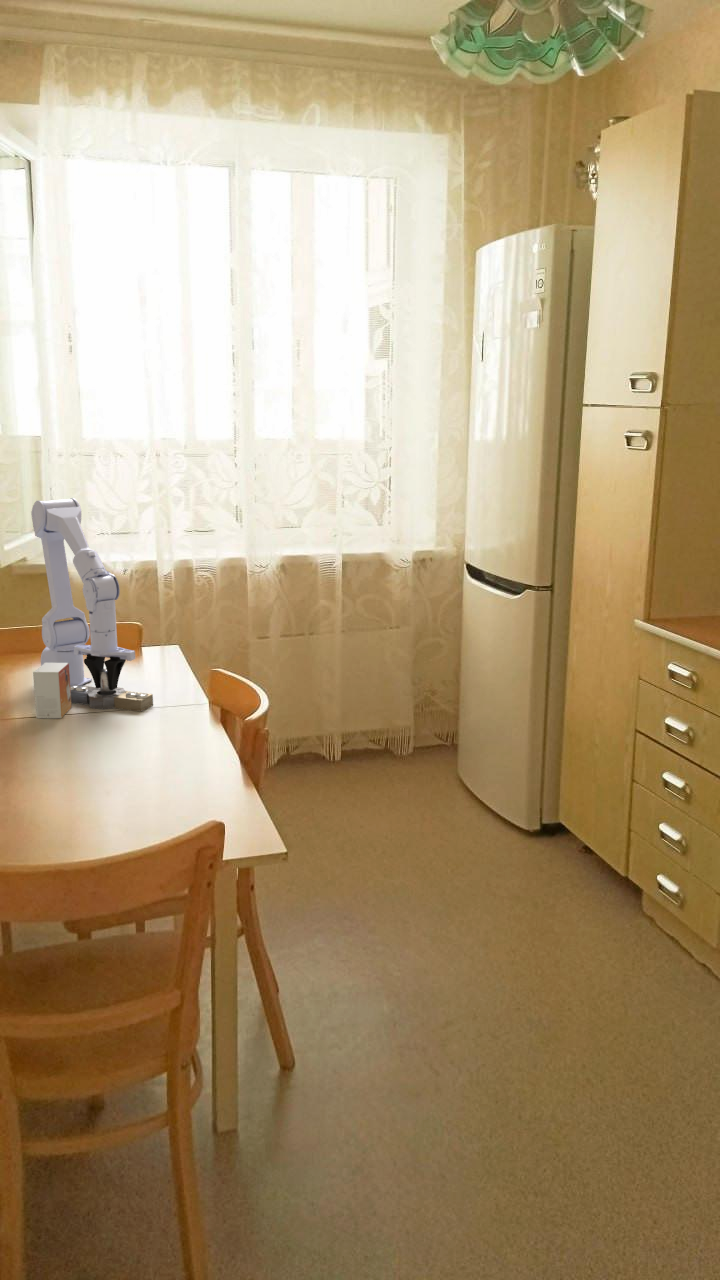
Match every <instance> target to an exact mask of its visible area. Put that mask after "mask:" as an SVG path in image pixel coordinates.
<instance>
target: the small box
mask: <svg viewBox="0 0 720 1280" xmlns="http://www.w3.org/2000/svg"><path fill="white" fill-rule="evenodd" d="M32 675H33V676H32V677H33V689H34V691H33V692H34V703H35V704H34V705H35V715H36V716H35V717H36V719H62V718H63V717H64V715H66V714H67V713H68V712H69V711H70V710H71V709H72V703H71V690H70V674H69V663H44V664H43V665H42V666H41V665H40V666H39V667H38V668H37V669H35V670H34V671H33V672H32Z"/></svg>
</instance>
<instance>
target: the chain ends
mask: <svg viewBox="0 0 720 1280" xmlns="http://www.w3.org/2000/svg"><path fill="white" fill-rule="evenodd" d="M70 690H71V704H79V705H86V706H89V708H90V709H98V710H109V709H118V710H126V711H135V712H139V713H140V712H141V713H142V712H143V711H146V710H147V709H148V708H151V707H152V706H154V696H153V695H154V694H153V693H147V692H139V691H129V690H125V688H123V687H118V686H117V688H116V689H114V694H112V695H100V688H99V689H98V688H96V686H89V685H88V686H87V685H70Z"/></svg>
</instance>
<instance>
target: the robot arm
mask: <svg viewBox="0 0 720 1280" xmlns="http://www.w3.org/2000/svg"><path fill="white" fill-rule="evenodd" d="M30 513H31V520H32V526H33V532H34V536H35V537H37V538H38V539H41V546H42V553H43V558H44V565H45V570H46V571H45V572H46V577H47V585H48V590H49V596H50V597H49V598H50V602H51V608H50V609H49V610H48V611H47V612H46V613H45V614H44V616H43V617H42V618H41V637H42V638H41V639H42V641H43V644H44V645H45V648H44V649H43V650H42V652H41V654H40V655H41V656H40V667H41V666H42V665H43V664H44V663H69V674H70V685H81V686H84V685H85V684H87V683H89V682H91V681H93V683H94V687H96V688H98V689H99V688H100V677H99V670H101V669H107V673H108V683H109V689H110V690H114V689H116V688H117V687H118V683H119V679H120V674H121V672H122V669H123V667H124V666H125V663H126V662H131V661H134V660H136V650H132V649H127V648H124V647H120V646H118V636H117V635H118V633H117V631H118V630H117V613H116V610H117V609H116V601H117V600H118V599H119V597H120V584H119V581H118V579H117V577H116V575H115V574H113V573H111V572H110V571H109V570H107V569H106V566H104V563H103V561H102V559H101V557H100V555H99V554H98V551H96V549H92V548H90V546H89V544H88V541H87V538H86V536H85V534H84V530H83V528H82V526H81V524H82V508H81V504H80V502H79V501H78V500H77V499H76V498H75V497H71V498H66V499H64V498H63V499H62V498H61V499H53V500H52V499H50V500H36V501H35V502H34V503H33V505H32V509H31V511H30ZM64 542H66V544H67V546H68V547H69V548H70V550H71V552H72V553H73V555H74V557H73V558H72V564H73V565H74V567H75V569H76V571H77V573H78V575H79V577H80V580H81V581H82V593H83V598H84V600H85V607H86V610H87V611H88V618H89V624H88V622H87V618H86V615H85V612H84V611H83V610H82V609H81V610H80V608H78V607H75V605H74V600H73V599H74V598H73V594H72V587H71V581H70V574H69V573H70V572H69V566H68V562H67V556H66V555H67V553H66V546H65V543H64ZM65 619H66V620H65ZM59 620H60V621H59ZM89 640H90V644H87V643H88V641H89ZM84 656H86V658H84ZM106 658H109V659H107V660H106ZM84 664H85V665H84ZM104 665H105V666H104ZM84 666H86V667H87V669H88V671H89V673H90V675H91V677H92V678H90V677H85V670H84V669H85V668H84ZM104 667H105V668H104Z"/></svg>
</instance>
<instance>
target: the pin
mask: <svg viewBox="0 0 720 1280" xmlns="http://www.w3.org/2000/svg"><path fill="white" fill-rule="evenodd" d="M99 677H100V695H112V694H114V690H110V689H109V683H108V673H107V669H106V668H104V669H101V670H99Z"/></svg>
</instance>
